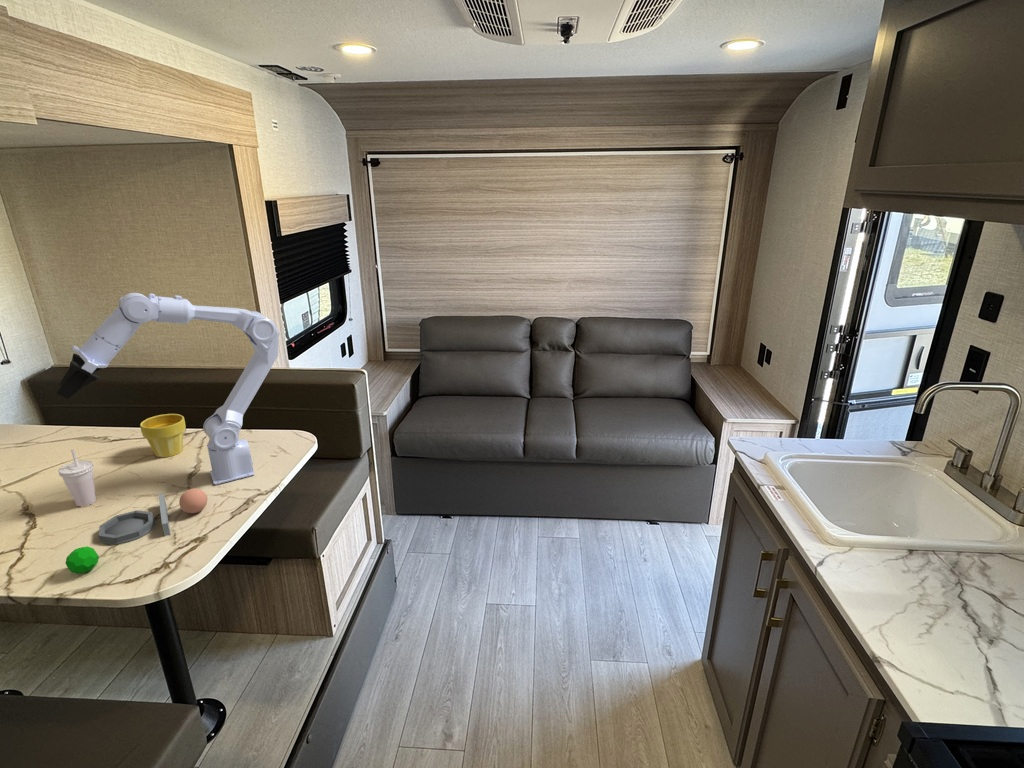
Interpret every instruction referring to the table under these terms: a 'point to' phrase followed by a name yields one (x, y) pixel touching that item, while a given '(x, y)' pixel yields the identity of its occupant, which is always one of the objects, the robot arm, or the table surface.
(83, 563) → the polyhedron
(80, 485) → the smoothie
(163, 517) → the low wall
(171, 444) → the plant pot
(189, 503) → the ball
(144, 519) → the gray octagonal bowl
